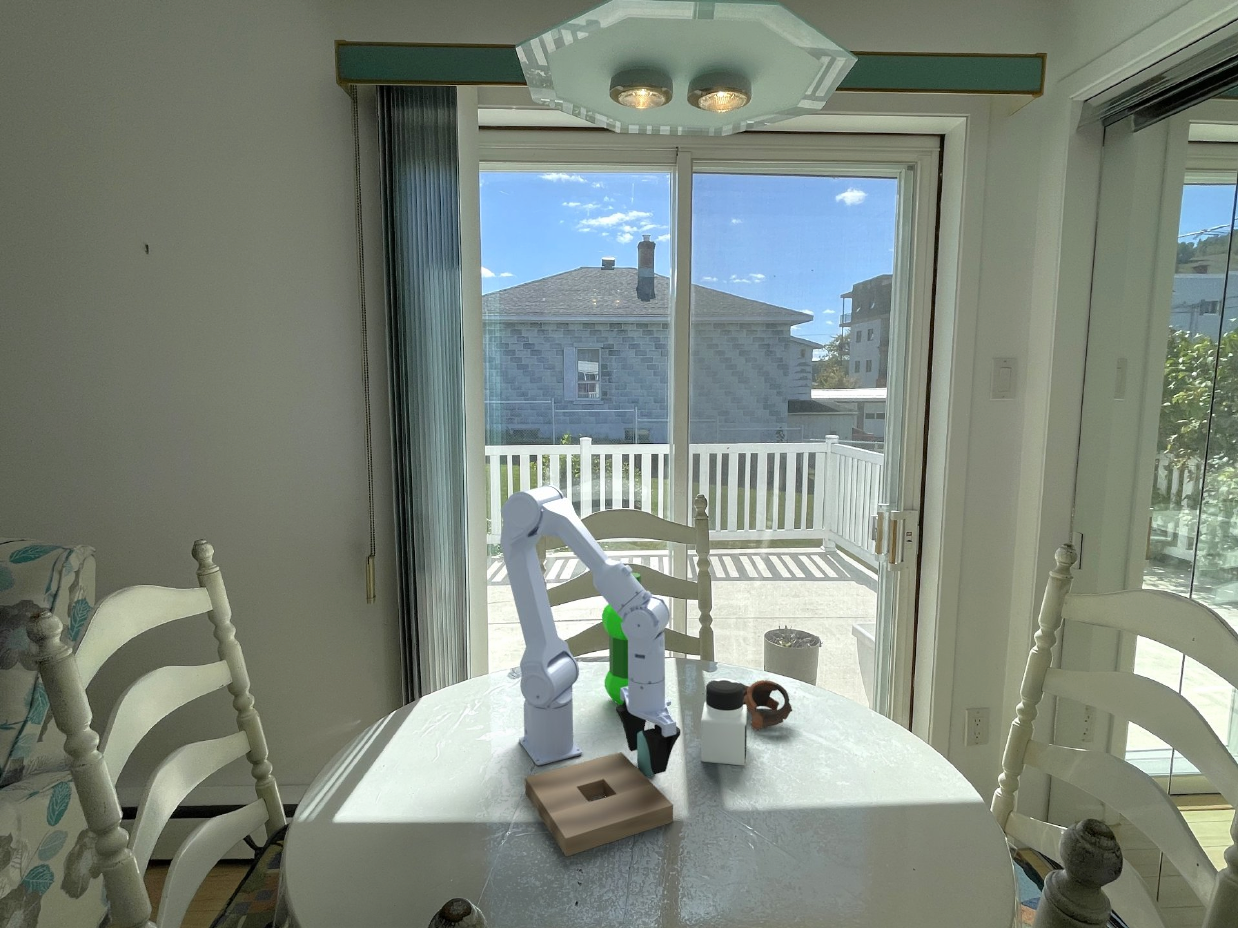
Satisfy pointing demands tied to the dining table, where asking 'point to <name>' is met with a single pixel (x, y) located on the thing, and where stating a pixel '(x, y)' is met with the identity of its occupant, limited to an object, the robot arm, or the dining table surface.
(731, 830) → the dining table surface
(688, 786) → the dining table surface
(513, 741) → the dining table surface
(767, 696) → the brown jagged ring
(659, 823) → the socket board
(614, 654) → the plastic bottle
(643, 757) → the peg
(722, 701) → the medicine bottle
